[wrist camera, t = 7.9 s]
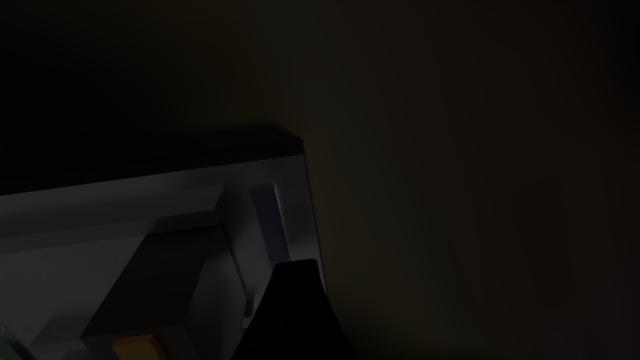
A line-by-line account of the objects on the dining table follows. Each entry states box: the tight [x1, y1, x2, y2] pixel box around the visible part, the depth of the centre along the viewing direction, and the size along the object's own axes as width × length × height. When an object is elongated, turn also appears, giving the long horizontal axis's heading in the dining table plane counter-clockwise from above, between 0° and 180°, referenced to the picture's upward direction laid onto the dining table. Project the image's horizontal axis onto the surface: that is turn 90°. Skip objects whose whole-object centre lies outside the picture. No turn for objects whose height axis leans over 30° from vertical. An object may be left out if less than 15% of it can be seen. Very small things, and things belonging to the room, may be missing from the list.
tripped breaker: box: [79, 224, 247, 360], centre depth 10 cm, size 2×4×4 cm, turn 7°
